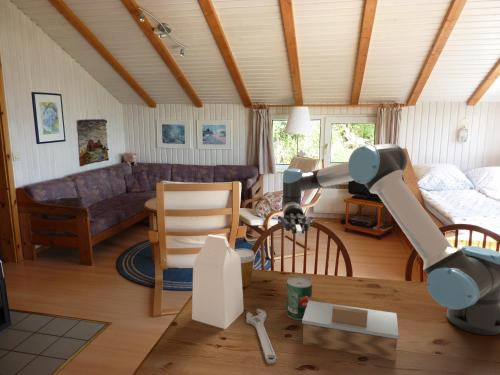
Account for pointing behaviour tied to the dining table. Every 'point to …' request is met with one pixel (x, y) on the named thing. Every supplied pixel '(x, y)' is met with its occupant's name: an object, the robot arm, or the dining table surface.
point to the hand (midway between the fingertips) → (299, 234)
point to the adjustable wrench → (262, 334)
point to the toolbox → (350, 341)
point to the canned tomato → (298, 296)
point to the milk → (217, 283)
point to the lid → (351, 319)
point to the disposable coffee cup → (246, 265)
